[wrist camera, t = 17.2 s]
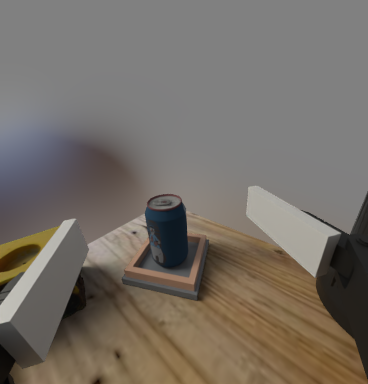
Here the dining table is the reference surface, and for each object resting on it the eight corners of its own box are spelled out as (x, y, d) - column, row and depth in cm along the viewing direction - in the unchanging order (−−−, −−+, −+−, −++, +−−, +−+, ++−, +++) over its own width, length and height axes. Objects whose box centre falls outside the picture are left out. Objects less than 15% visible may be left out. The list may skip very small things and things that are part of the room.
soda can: (189, 244, 36) (186, 192, 31) (187, 271, 29) (183, 210, 25) (156, 244, 36) (149, 193, 32) (148, 271, 30) (137, 211, 25)
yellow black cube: (81, 265, 34) (64, 223, 30) (88, 307, 26) (67, 256, 22) (12, 295, 28) (-19, 248, 25) (-4, 358, 21) (-53, 304, 17)
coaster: (208, 244, 37) (209, 234, 36) (196, 300, 26) (196, 288, 25) (154, 236, 41) (153, 227, 40) (123, 283, 29) (119, 272, 28)
